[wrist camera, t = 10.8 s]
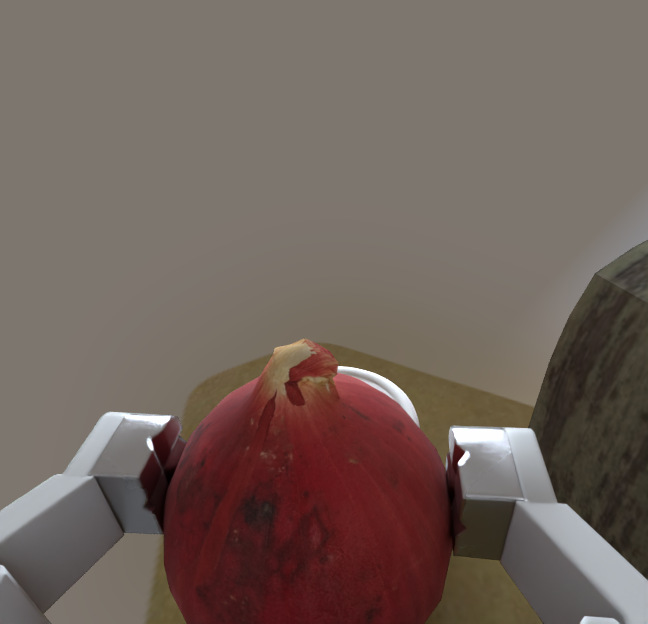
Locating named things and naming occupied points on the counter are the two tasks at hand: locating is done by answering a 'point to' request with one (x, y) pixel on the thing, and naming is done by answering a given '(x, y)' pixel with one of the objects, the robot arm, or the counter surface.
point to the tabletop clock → (602, 408)
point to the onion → (307, 504)
